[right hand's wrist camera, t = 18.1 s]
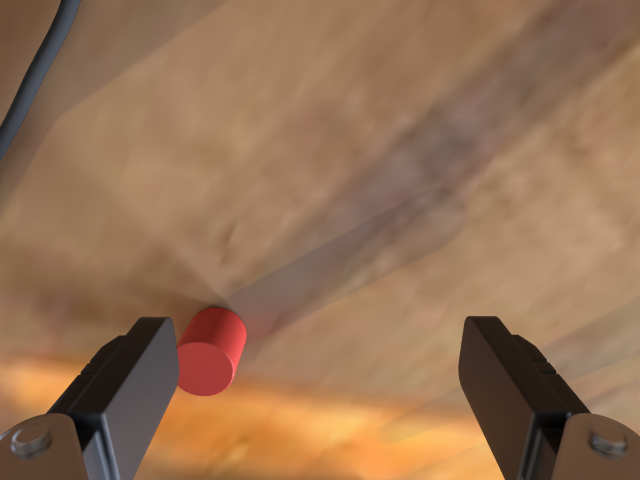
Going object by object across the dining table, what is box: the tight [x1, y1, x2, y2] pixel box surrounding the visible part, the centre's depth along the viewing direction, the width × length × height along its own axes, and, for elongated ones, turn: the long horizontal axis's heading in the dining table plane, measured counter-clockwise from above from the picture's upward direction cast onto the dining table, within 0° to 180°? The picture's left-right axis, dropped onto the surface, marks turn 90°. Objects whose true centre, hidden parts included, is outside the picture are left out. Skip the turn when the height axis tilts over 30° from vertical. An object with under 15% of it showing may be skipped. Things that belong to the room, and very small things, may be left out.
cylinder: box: [177, 307, 246, 396], centre depth 27 cm, size 4×4×4 cm
